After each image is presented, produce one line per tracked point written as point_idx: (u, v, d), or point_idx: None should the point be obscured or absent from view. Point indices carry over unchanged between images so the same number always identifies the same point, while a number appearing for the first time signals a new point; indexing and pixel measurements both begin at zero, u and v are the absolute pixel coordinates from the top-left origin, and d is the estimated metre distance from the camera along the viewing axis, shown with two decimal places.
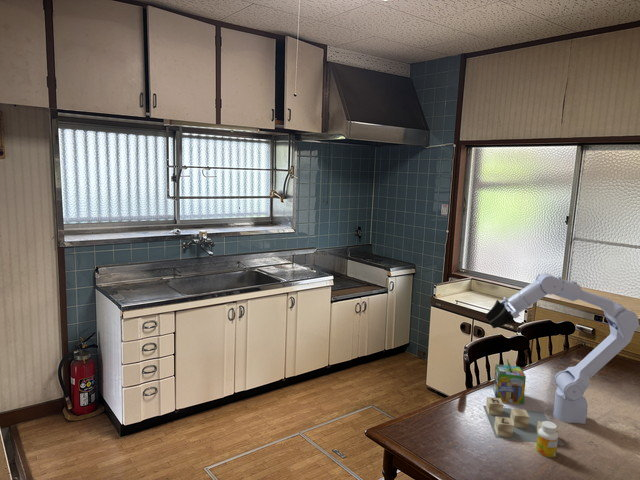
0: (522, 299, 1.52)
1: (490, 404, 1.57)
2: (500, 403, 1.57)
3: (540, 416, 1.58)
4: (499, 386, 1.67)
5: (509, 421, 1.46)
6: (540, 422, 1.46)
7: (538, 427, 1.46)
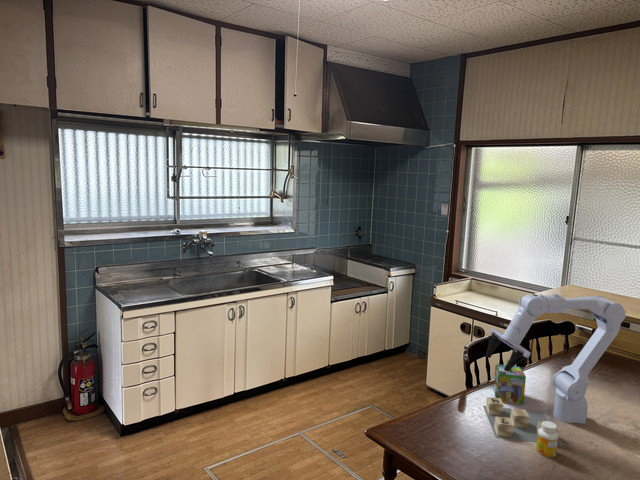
0: (522, 333, 1.49)
1: (490, 404, 1.57)
2: (500, 403, 1.57)
3: (540, 416, 1.58)
4: (499, 386, 1.67)
5: (509, 421, 1.46)
6: (540, 422, 1.46)
7: (538, 427, 1.46)
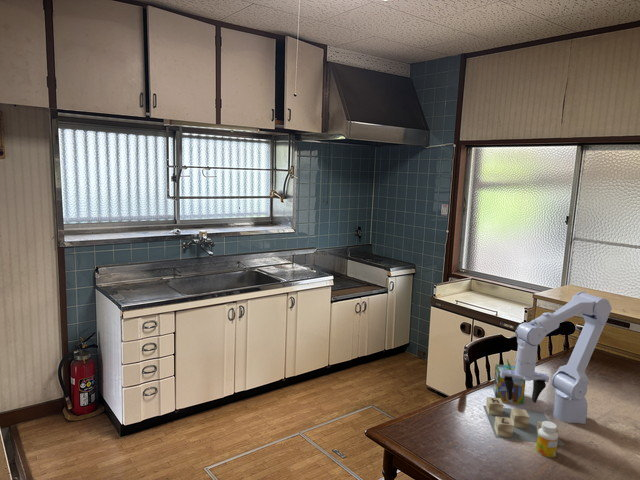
0: (535, 364, 1.48)
1: (490, 404, 1.57)
2: (500, 403, 1.57)
3: (540, 416, 1.58)
4: (499, 386, 1.67)
5: (509, 421, 1.46)
6: (540, 422, 1.46)
7: (538, 427, 1.46)
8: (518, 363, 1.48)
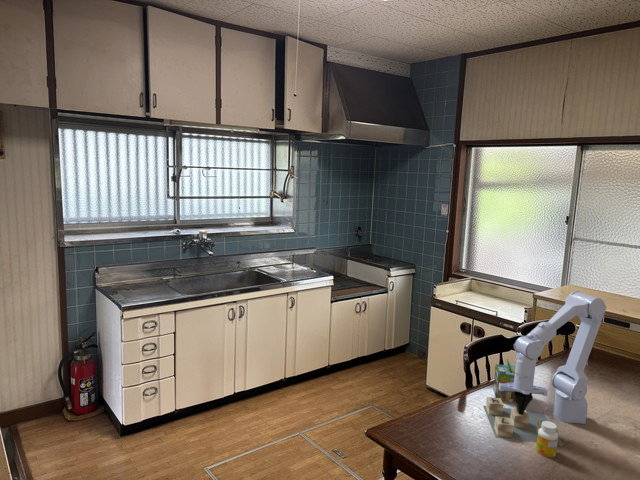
0: (533, 377, 1.48)
1: (490, 404, 1.57)
2: (500, 403, 1.57)
3: (540, 416, 1.58)
4: None
5: (509, 421, 1.46)
6: (540, 422, 1.46)
7: (538, 427, 1.46)
8: (517, 377, 1.49)
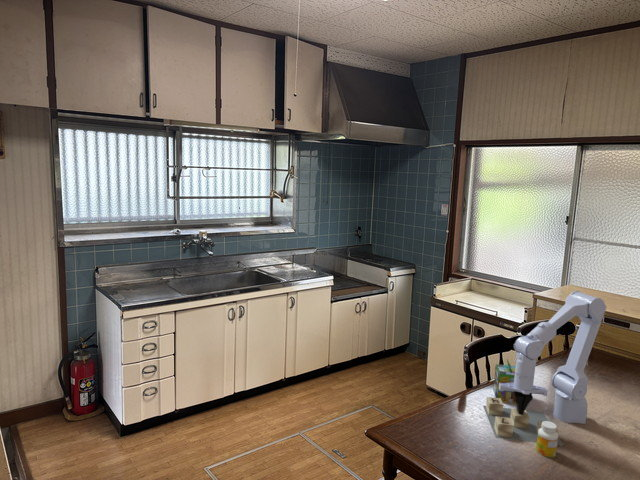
0: (533, 377, 1.48)
1: (490, 404, 1.57)
2: (500, 403, 1.57)
3: (540, 416, 1.58)
4: None
5: (509, 421, 1.46)
6: (540, 422, 1.46)
7: (538, 427, 1.46)
8: (517, 376, 1.49)
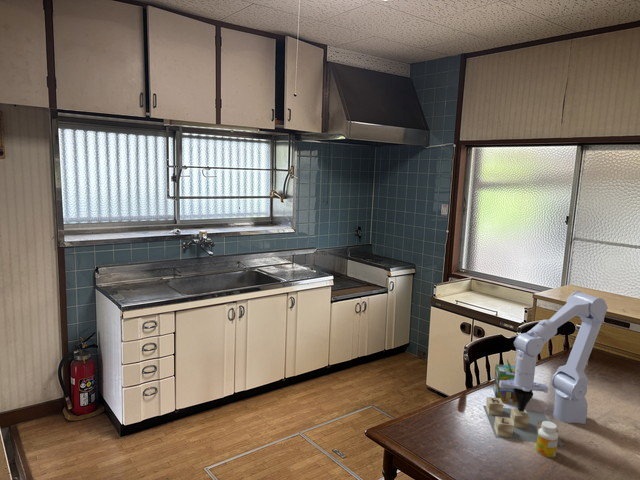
0: None
1: (490, 404, 1.57)
2: (500, 403, 1.57)
3: (540, 416, 1.58)
4: (499, 386, 1.67)
5: (509, 421, 1.46)
6: (540, 422, 1.46)
7: (538, 427, 1.46)
8: (517, 374, 1.49)
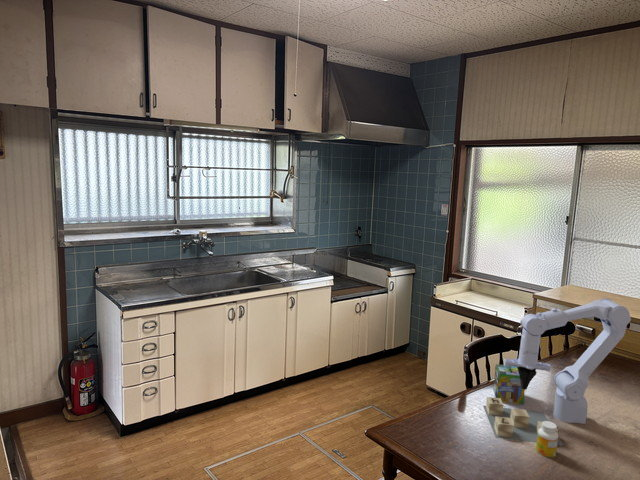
0: None
1: (490, 404, 1.57)
2: (500, 403, 1.57)
3: (540, 416, 1.58)
4: (499, 386, 1.67)
5: (509, 421, 1.46)
6: (540, 422, 1.46)
7: (538, 427, 1.46)
8: (521, 352, 1.55)
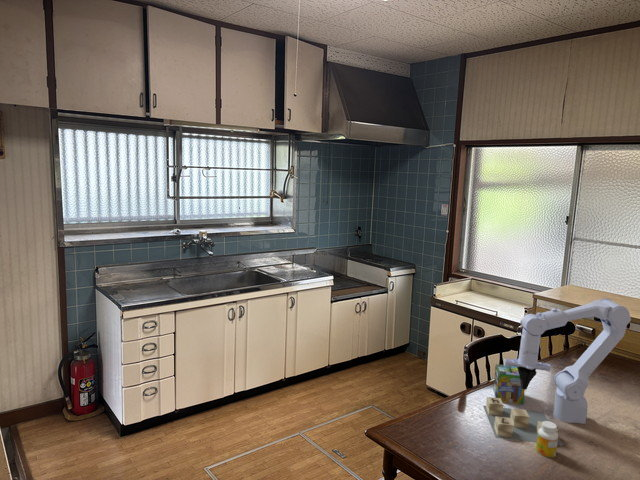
0: None
1: (490, 404, 1.57)
2: (500, 403, 1.57)
3: (540, 416, 1.58)
4: (499, 386, 1.67)
5: (509, 421, 1.46)
6: (540, 422, 1.46)
7: (538, 427, 1.46)
8: (521, 352, 1.55)
